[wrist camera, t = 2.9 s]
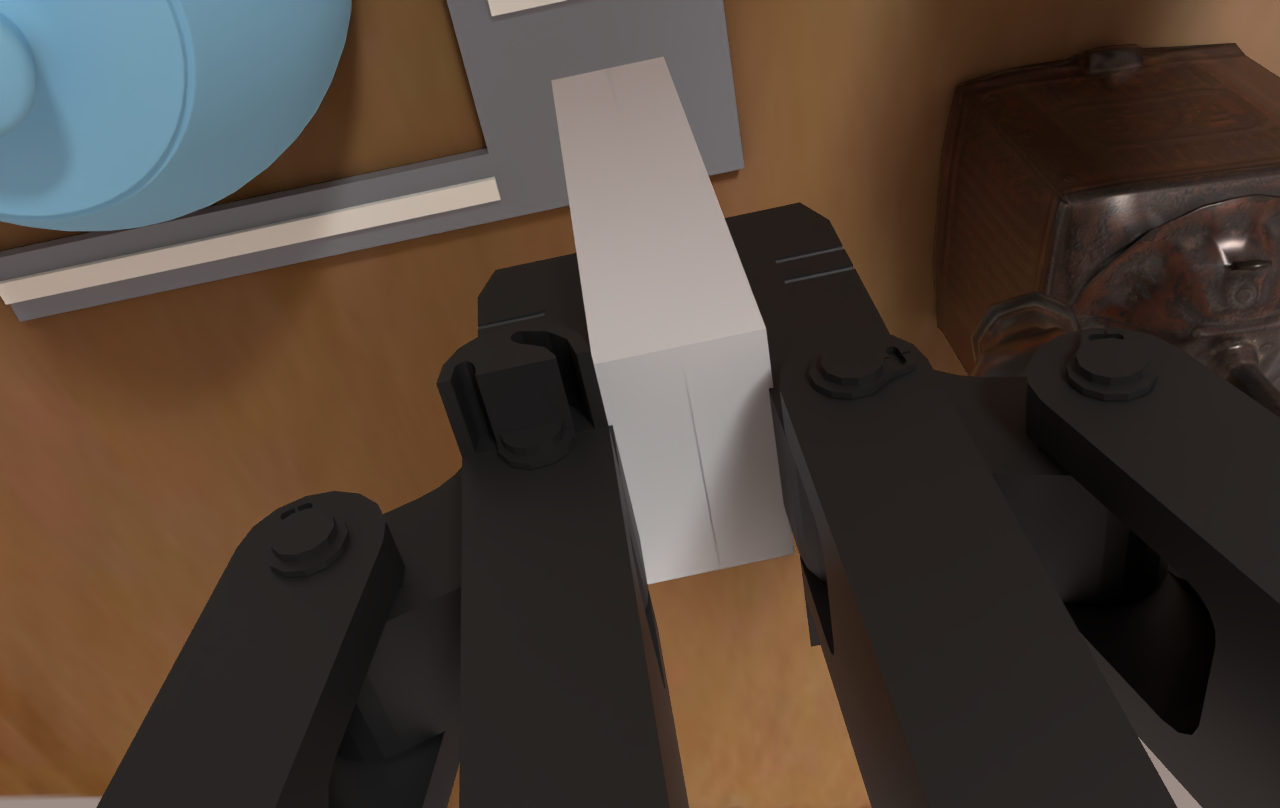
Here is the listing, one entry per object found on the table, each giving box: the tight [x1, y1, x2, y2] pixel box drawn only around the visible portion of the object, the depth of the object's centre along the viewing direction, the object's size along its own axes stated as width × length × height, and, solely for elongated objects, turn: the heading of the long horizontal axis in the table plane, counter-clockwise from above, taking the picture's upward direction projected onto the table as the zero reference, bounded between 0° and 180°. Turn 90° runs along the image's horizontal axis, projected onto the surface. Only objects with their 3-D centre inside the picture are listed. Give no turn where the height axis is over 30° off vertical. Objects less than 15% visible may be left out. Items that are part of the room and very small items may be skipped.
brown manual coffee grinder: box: [933, 43, 1280, 417], centre depth 35 cm, size 16×11×18 cm
